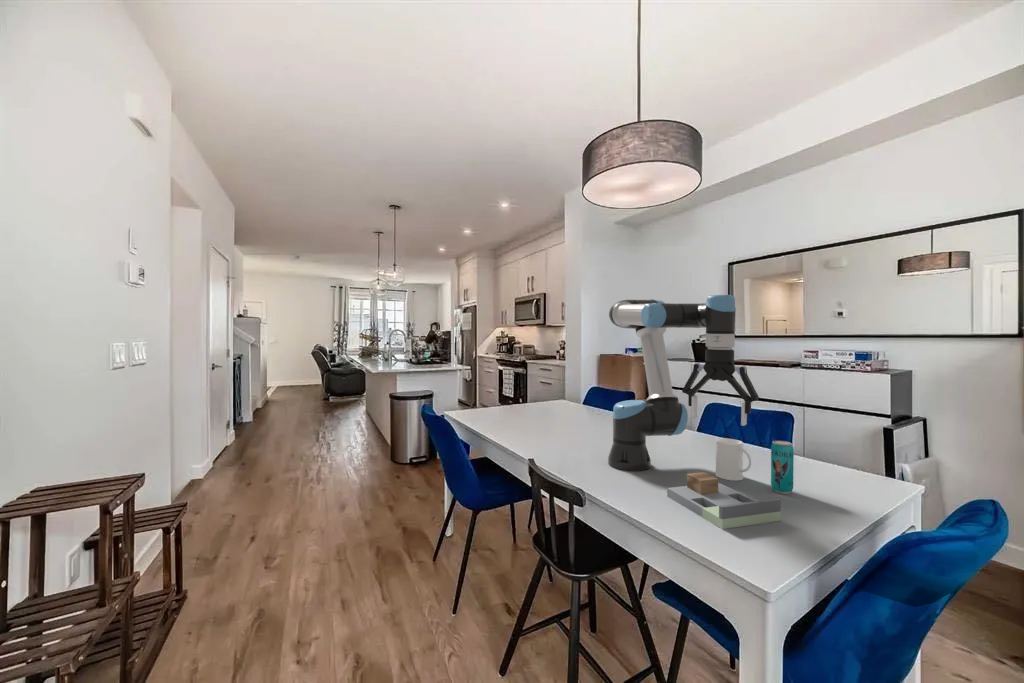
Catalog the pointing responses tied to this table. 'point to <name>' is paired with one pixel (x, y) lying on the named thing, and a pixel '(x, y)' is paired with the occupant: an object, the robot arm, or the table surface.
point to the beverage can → (782, 467)
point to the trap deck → (727, 506)
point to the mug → (730, 459)
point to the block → (702, 483)
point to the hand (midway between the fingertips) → (718, 421)
